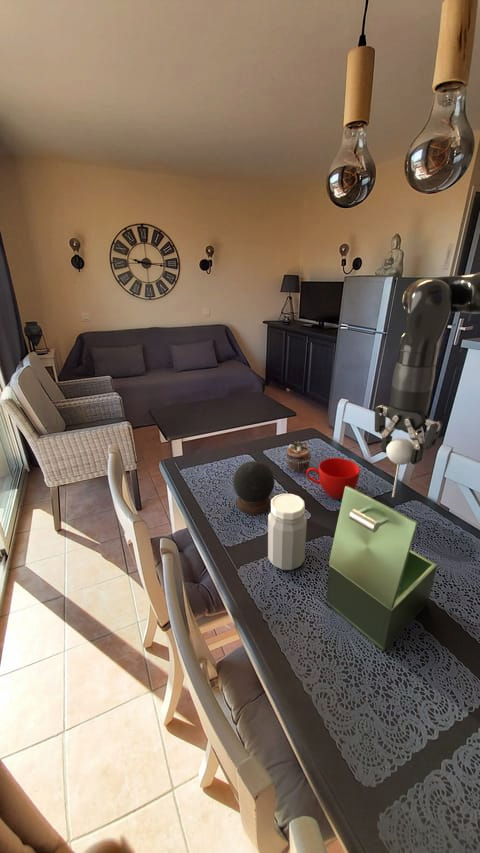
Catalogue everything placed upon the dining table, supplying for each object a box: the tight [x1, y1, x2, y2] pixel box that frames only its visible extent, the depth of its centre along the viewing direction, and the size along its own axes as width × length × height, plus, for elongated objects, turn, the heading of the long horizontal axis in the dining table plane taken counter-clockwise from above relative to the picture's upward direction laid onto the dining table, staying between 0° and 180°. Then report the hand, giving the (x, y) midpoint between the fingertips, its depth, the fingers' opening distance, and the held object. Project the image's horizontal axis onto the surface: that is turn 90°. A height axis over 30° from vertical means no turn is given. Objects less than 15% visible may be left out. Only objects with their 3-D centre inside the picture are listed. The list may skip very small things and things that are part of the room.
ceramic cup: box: [305, 457, 361, 500], centre depth 120 cm, size 13×17×10 cm
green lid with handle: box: [328, 486, 419, 609], centre depth 68 cm, size 19×15×5 cm
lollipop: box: [386, 437, 414, 498], centre depth 81 cm, size 6×6×15 cm
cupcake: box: [285, 440, 312, 473], centre depth 136 cm, size 10×10×10 cm
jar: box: [267, 493, 308, 571], centre depth 92 cm, size 10×10×18 cm
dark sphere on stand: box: [232, 460, 275, 515], centre depth 115 cm, size 13×13×15 cm
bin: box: [325, 549, 438, 653], centre depth 80 cm, size 18×15×12 cm
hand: (399, 456), depth 80 cm, fingers closed on lollipop, 6 cm apart
